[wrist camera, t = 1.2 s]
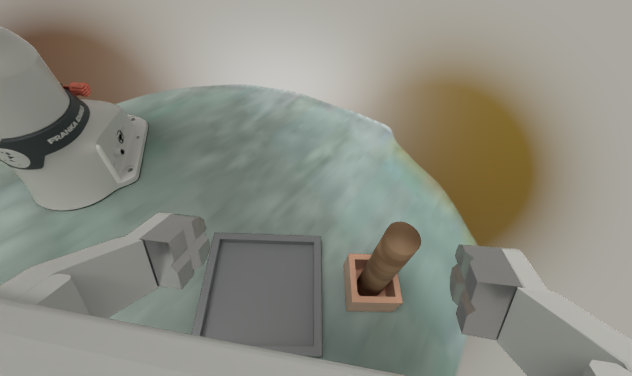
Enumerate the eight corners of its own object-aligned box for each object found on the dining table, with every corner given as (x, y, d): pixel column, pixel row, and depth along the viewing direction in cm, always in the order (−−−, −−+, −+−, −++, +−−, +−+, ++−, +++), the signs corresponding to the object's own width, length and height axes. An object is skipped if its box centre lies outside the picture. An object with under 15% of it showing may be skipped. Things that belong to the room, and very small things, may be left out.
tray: (217, 239, 46) (214, 232, 44) (319, 242, 47) (320, 236, 45) (191, 356, 36) (186, 354, 34) (320, 357, 37) (322, 355, 35)
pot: (343, 265, 45) (348, 253, 41) (385, 266, 45) (394, 255, 41) (346, 311, 41) (352, 302, 37) (392, 311, 41) (402, 303, 38)
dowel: (354, 274, 43) (383, 221, 31) (378, 274, 44) (416, 222, 31) (356, 299, 41) (388, 253, 28) (381, 299, 42) (424, 254, 29)
